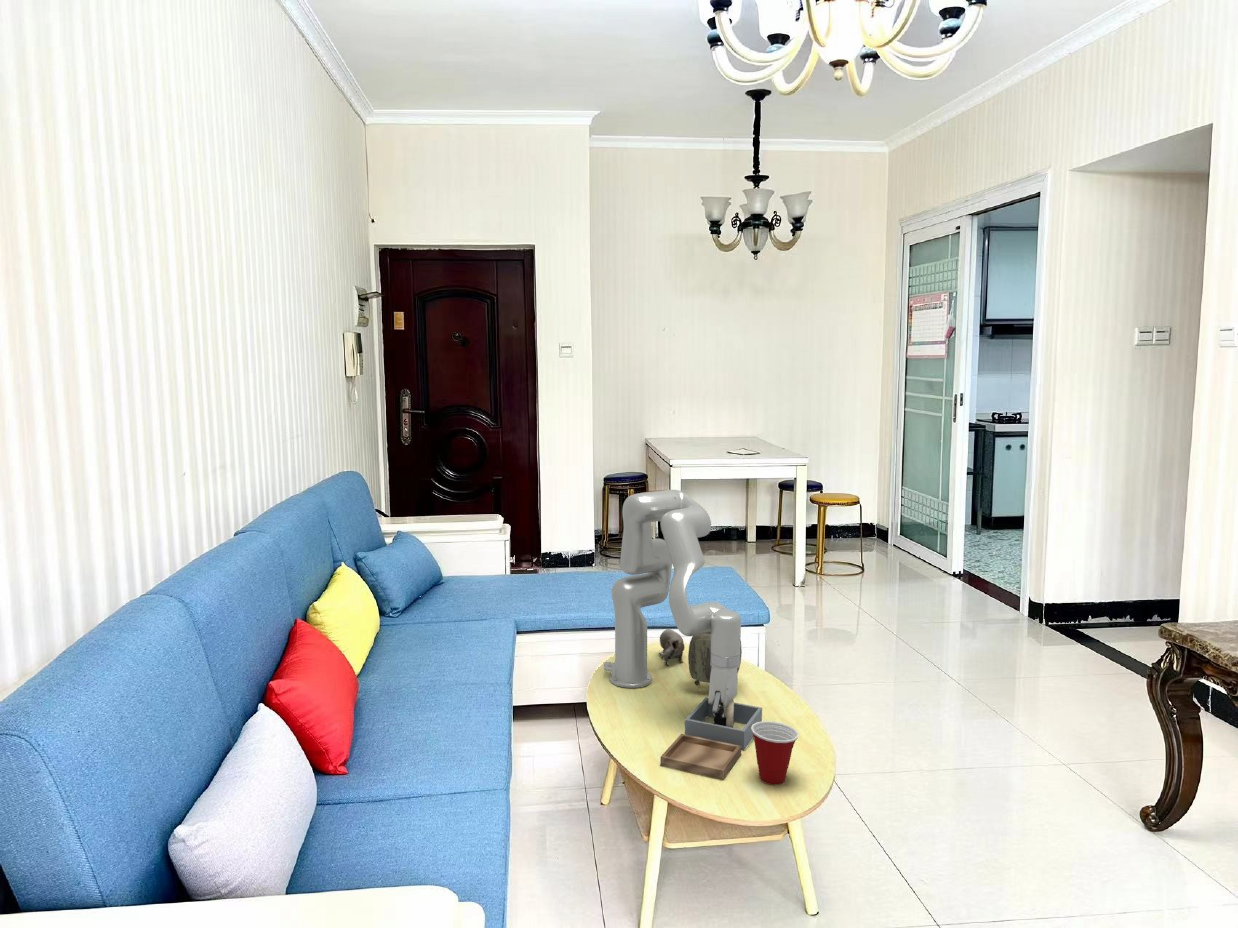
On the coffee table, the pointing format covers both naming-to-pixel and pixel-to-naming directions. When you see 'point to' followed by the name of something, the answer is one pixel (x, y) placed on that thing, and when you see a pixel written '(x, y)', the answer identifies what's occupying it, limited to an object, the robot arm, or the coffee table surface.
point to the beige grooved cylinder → (729, 714)
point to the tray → (701, 756)
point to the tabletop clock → (701, 657)
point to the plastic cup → (773, 749)
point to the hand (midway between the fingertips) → (723, 725)
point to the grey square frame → (723, 733)
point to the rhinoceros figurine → (671, 645)
